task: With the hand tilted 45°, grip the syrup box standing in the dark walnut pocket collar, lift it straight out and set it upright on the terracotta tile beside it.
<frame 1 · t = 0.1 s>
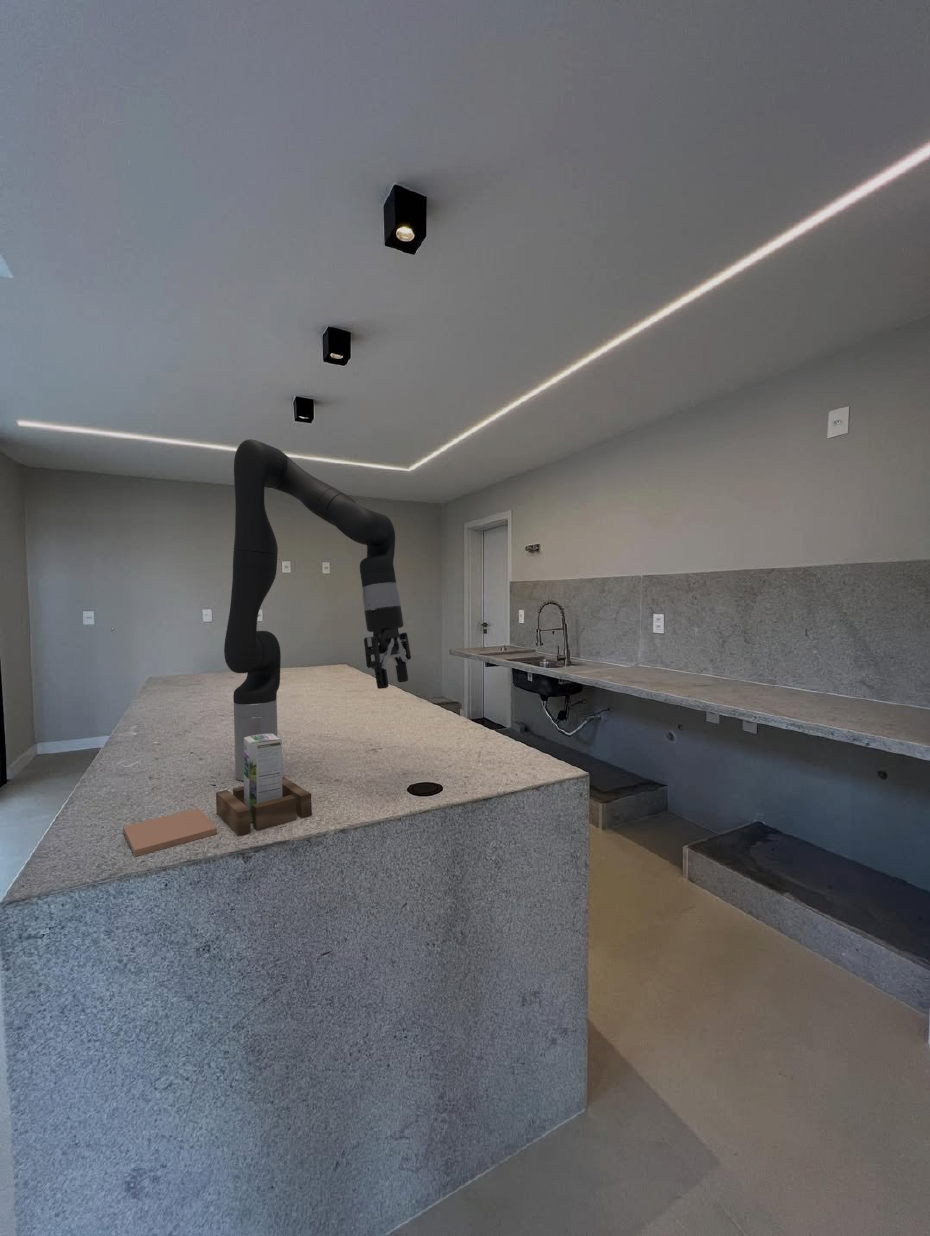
hand: (393, 684, 106), 22 cm above the counter, fingers open, 8 cm apart
terracotta tile: (169, 832, 89), on the counter
walnut pocket collar: (263, 814, 97), on the counter
syrup box: (263, 815, 97), resting in walnut pocket collar
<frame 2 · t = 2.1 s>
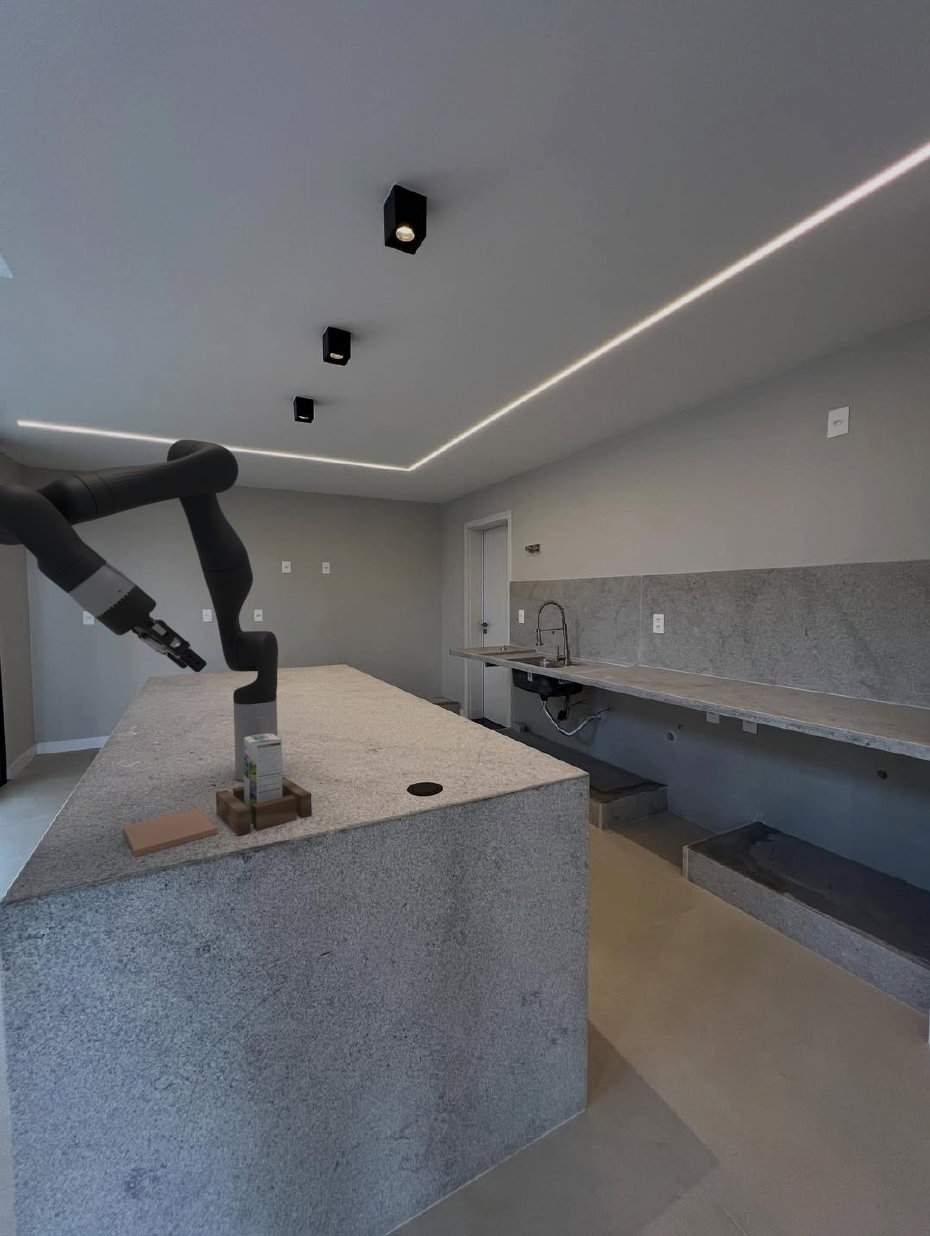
hand: (195, 666, 89), 29 cm above the counter, fingers open, 8 cm apart
nothing on the counter moved.
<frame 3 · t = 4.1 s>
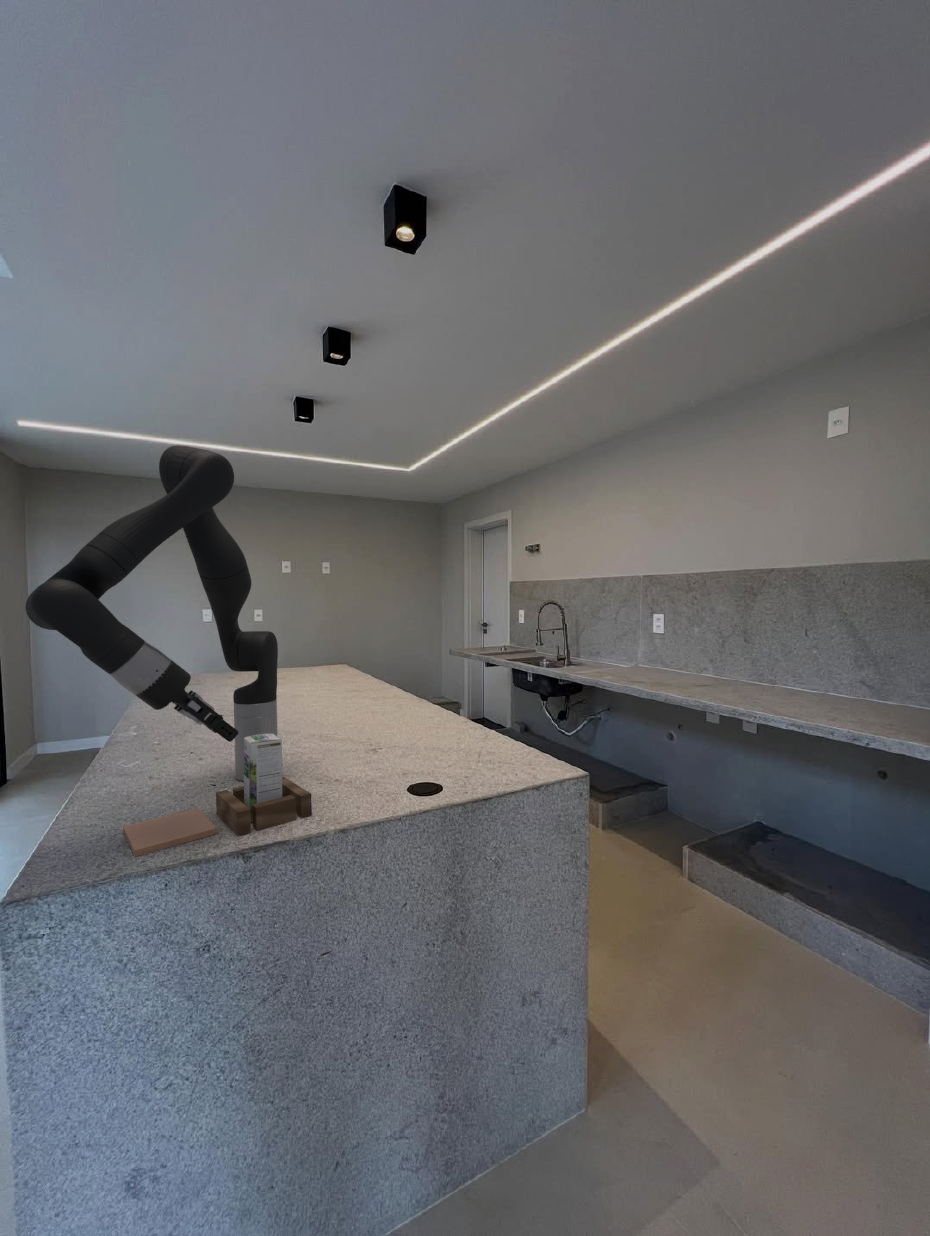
hand: (227, 732, 93), 16 cm above the counter, fingers open, 8 cm apart
nothing on the counter moved.
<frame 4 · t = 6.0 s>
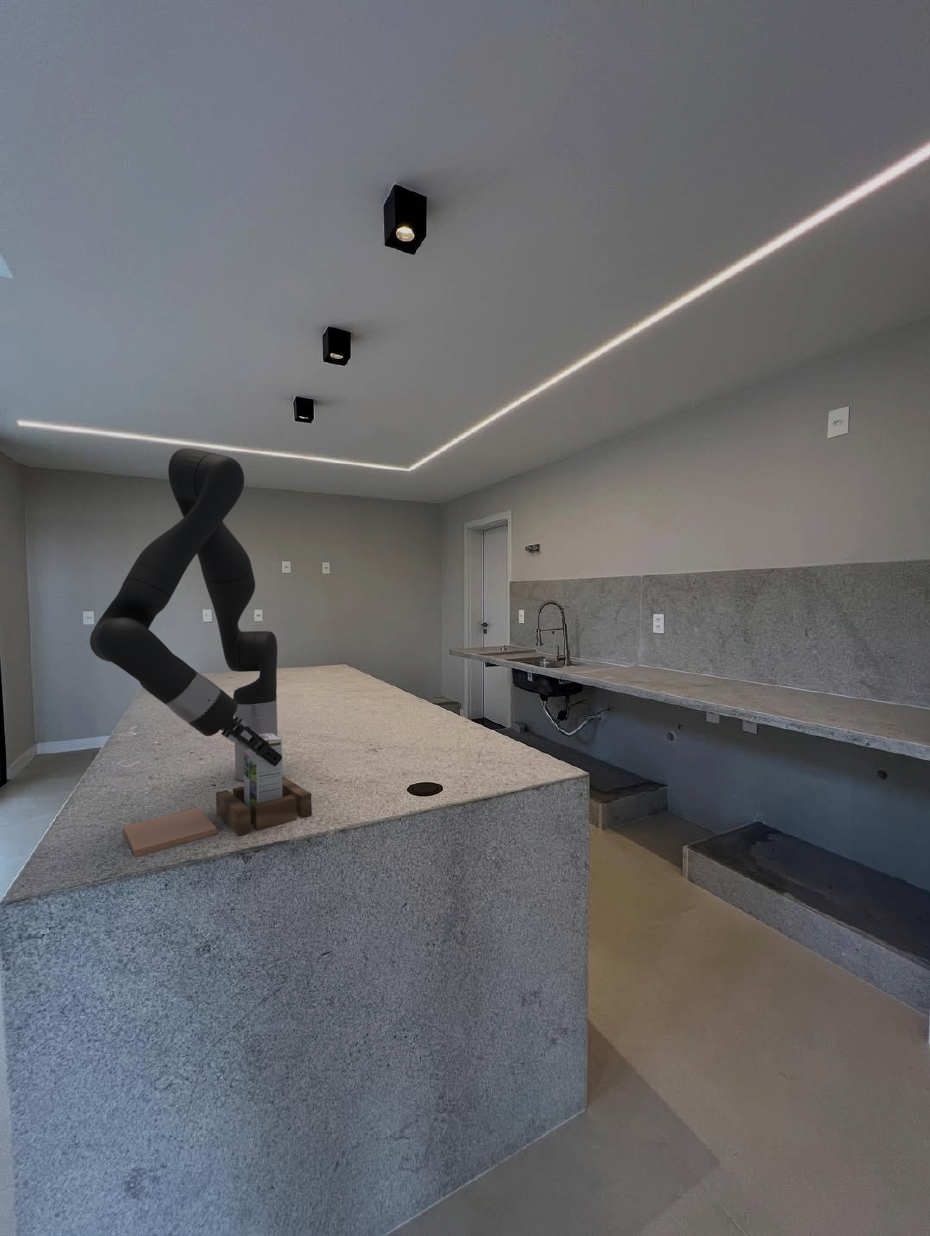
hand: (271, 757, 98), 10 cm above the counter, fingers closed on syrup box, 6 cm apart
syrup box: (263, 815, 97), resting in walnut pocket collar, touching gripper
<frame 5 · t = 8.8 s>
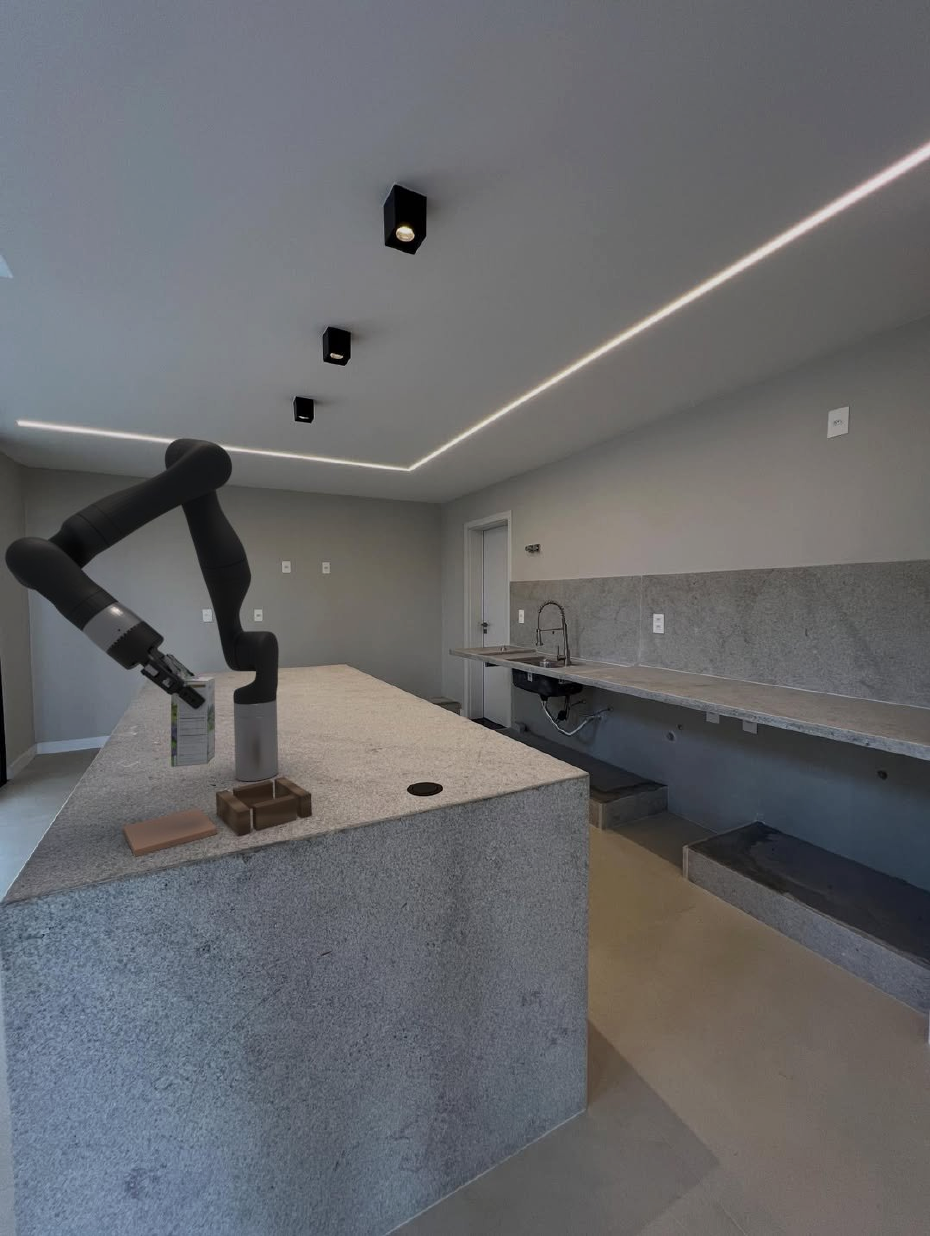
hand: (204, 701, 90), 22 cm above the counter, fingers closed on syrup box, 6 cm apart
syrup box: (194, 762, 90), point 12 cm above the counter, touching gripper
when the fingers open (13 cm above the counter, at t = 11.4 s): syrup box drops 1 cm, resting on terracotta tile.
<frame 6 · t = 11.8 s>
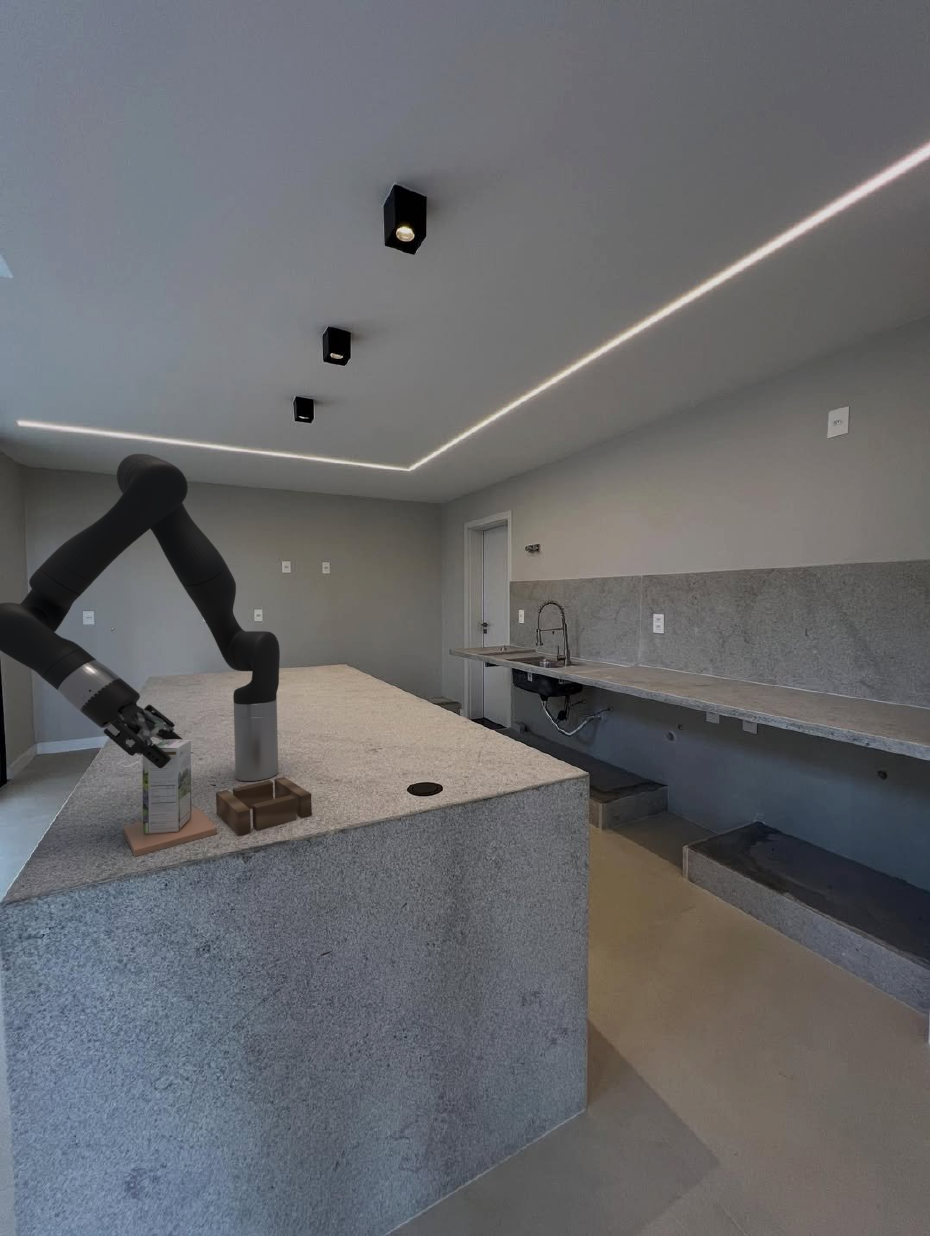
hand: (176, 756, 89), 13 cm above the counter, fingers open, 8 cm apart
syrup box: (168, 827, 89), point 1 cm above the counter, touching terracotta tile
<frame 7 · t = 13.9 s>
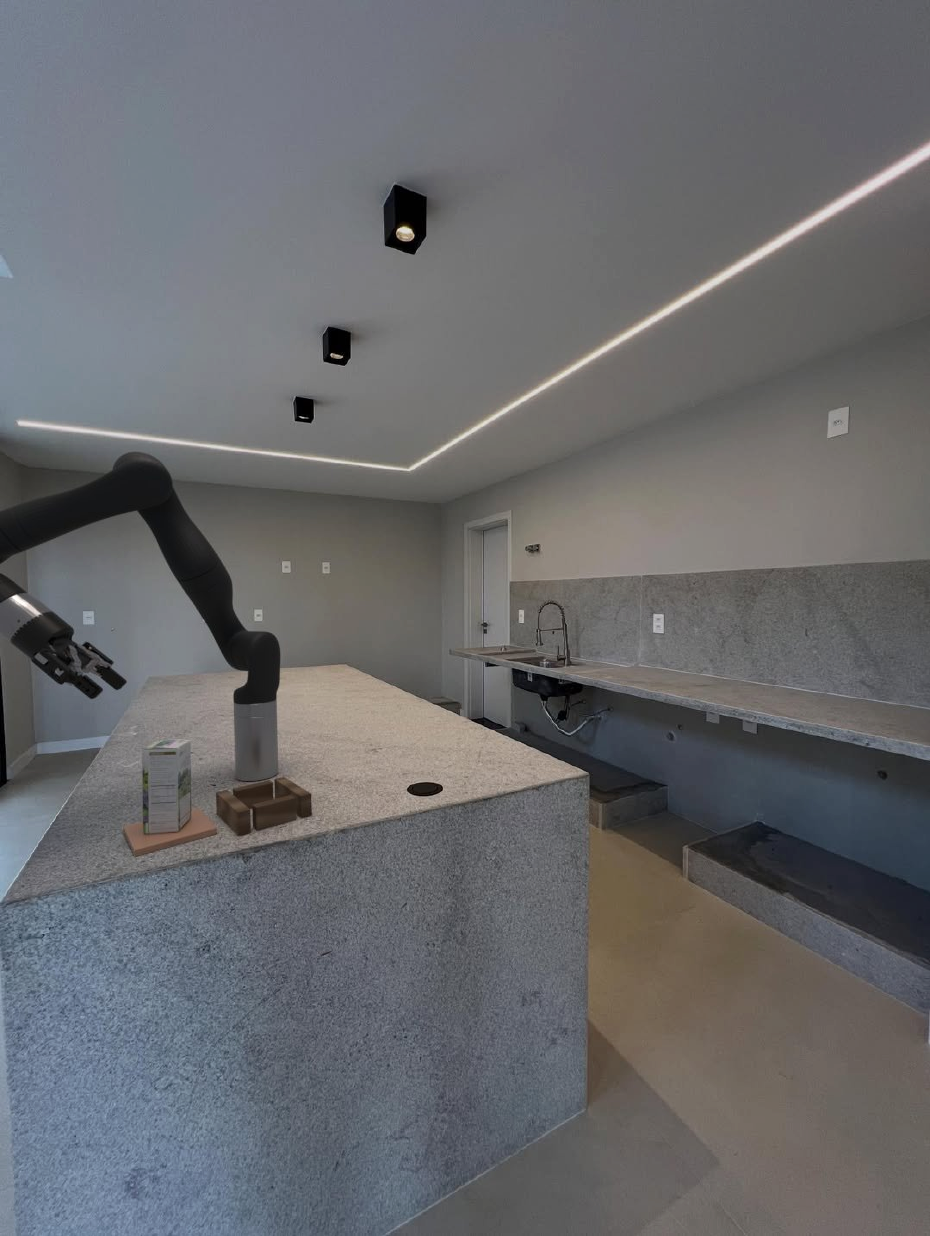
hand: (111, 690, 89), 25 cm above the counter, fingers open, 8 cm apart
nothing on the counter moved.
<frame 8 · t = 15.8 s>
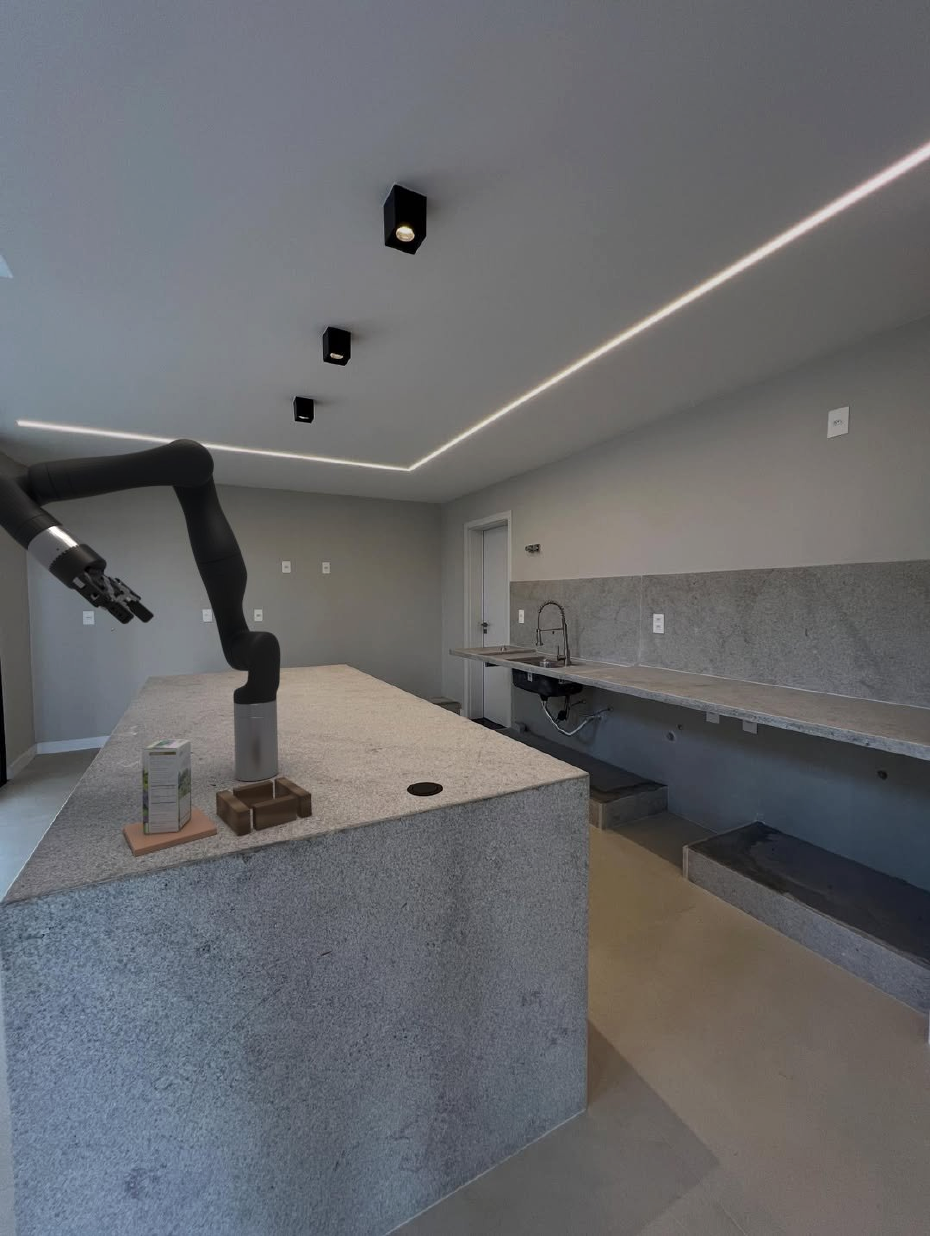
hand: (140, 620, 95), 37 cm above the counter, fingers open, 8 cm apart
nothing on the counter moved.
at the end: syrup box inside the target area on the terracotta tile (0.3 cm from its centre), point 0.8 cm above the terracotta tile's base; syrup box tilted 0°; the gripper is holding nothing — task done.
